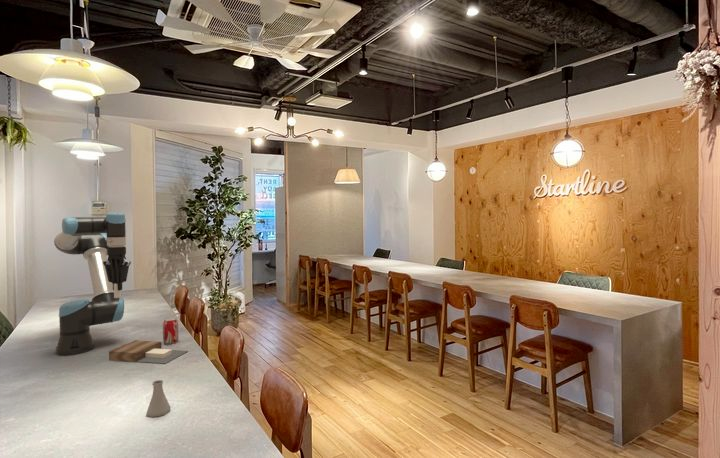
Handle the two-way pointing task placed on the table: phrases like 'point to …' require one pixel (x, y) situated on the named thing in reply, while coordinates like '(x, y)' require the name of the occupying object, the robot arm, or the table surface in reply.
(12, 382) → the table surface
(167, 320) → the soda can
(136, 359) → the deck
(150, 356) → the tile
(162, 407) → the flask
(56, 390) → the table surface
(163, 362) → the mat
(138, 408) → the table surface
